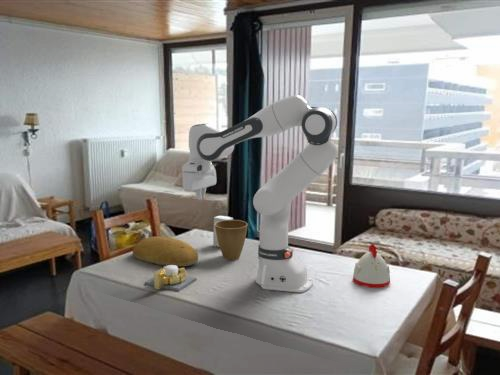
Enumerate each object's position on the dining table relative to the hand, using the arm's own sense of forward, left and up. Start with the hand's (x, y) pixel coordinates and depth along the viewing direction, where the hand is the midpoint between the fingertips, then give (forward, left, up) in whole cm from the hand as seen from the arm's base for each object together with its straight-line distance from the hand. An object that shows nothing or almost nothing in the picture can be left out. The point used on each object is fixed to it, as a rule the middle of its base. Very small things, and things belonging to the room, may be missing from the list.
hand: (201, 199), depth 171 cm
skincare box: (+10, -36, -31) cm, 49 cm away
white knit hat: (-65, -20, -31) cm, 75 cm away
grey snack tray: (+6, +14, -31) cm, 35 cm away
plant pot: (-2, -22, -31) cm, 38 cm away
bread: (+24, -8, -32) cm, 40 cm away
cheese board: (+6, +16, -30) cm, 34 cm away
